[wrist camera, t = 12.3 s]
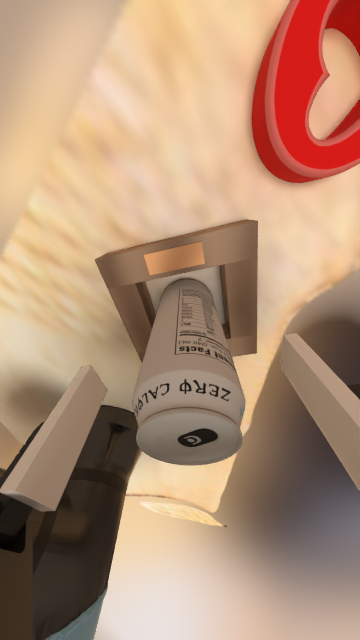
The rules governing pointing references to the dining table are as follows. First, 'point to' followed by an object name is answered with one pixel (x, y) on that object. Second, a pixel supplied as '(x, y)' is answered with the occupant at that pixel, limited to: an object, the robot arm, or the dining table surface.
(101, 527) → the robot arm
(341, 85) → the dining table surface
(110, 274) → the frame
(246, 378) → the dining table surface
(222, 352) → the energy drink can
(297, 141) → the decorative ornament
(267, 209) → the dining table surface
